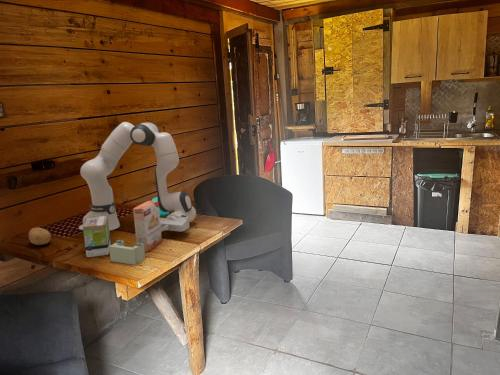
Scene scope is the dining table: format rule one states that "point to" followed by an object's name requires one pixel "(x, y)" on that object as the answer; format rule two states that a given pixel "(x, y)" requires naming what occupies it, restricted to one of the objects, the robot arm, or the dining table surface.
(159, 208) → the donuts
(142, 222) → the cracker box
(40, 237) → the potato
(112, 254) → the pale green block
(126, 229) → the dining table surface
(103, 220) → the tea box
